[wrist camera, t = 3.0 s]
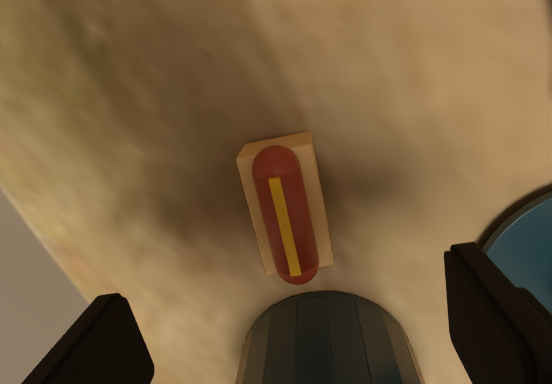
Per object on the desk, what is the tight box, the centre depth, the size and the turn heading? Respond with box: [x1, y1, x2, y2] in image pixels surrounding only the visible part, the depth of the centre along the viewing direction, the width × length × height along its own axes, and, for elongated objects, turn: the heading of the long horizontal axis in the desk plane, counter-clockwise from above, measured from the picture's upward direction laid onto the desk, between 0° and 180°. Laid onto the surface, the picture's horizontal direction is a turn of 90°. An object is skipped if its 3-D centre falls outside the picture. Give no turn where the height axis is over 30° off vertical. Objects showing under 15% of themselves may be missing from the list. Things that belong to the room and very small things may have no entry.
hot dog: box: [236, 131, 334, 285], centre depth 17 cm, size 6×3×4 cm, turn 12°
